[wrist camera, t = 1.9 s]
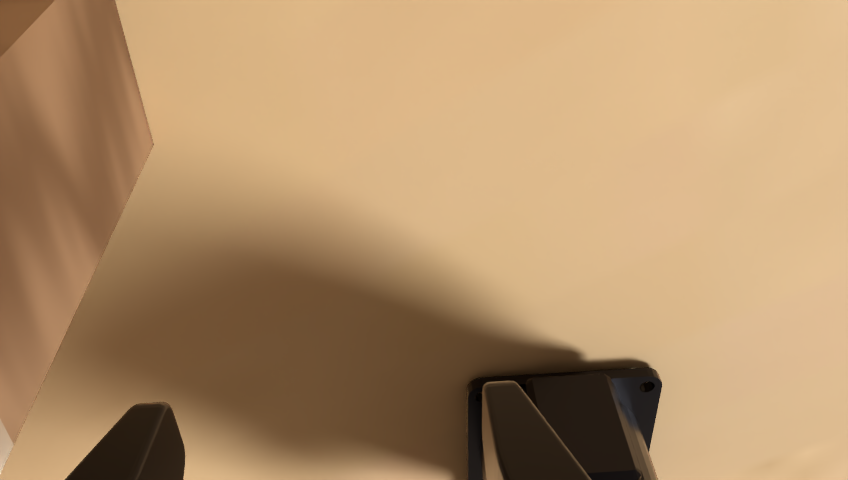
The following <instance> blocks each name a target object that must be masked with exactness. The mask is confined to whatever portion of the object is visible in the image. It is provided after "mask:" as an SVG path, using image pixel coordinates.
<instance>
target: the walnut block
mask: <svg viewBox="0 0 848 480" xmlns="http://www.w3.org/2000/svg"><path fill="white" fill-rule="evenodd" d="M153 145H154V144H153V140H152V137H151V133H150V129H149V126H148V122H147V118H146V114H145V111H144V107H143V103H142V100H141V96H140V92H139V88H138V85H137V81H136V77H135V73H134V70H133V66H132V62H131V59H130V55H129V51H128V47H127V44H126V40H125V36H124V33H123V29H122V25H121V21H120V18H119V14H118V10H117V7H116V3H115V0H0V474H1V471H2V469H3V467H4V465H5V463H6V461H7V458H8V456H9V454H10V452H11V450H12V448H13V446H14V443H15V441H16V439H17V437H18V435H19V433H20V431H21V428H22V426H23V424H24V422H25V420H26V418H27V416H28V413H29V411H30V409H31V407H32V405H33V403H34V401H35V398H36V396H37V394H38V392H39V390H40V388H41V385H42V383H43V381H44V379H45V377H46V375H47V373H48V370H49V368H50V366H51V364H52V362H53V360H54V358H55V355H56V353H57V351H58V349H59V347H60V345H61V343H62V340H63V338H64V336H65V334H66V332H67V330H68V328H69V325H70V323H71V321H72V319H73V317H74V315H75V312H76V310H77V308H78V306H79V304H80V302H81V300H82V297H83V295H84V293H85V291H86V289H87V287H88V285H89V282H90V280H91V278H92V276H93V274H94V272H95V270H96V267H97V265H98V263H99V261H100V259H101V257H102V255H103V252H104V250H105V248H106V246H107V244H108V242H109V239H110V237H111V235H112V233H113V231H114V229H115V227H116V224H117V222H118V220H119V218H120V216H121V214H122V212H123V209H124V207H125V205H126V203H127V201H128V199H129V197H130V194H131V192H132V190H133V188H134V186H135V184H136V181H137V179H138V177H139V175H140V173H141V171H142V169H143V166H144V164H145V162H146V160H147V158H148V156H149V154H150V151H151V149H152V147H153Z"/></svg>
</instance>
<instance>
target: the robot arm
mask: <svg viewBox="0 0 848 480" xmlns="http://www.w3.org/2000/svg"><path fill="white" fill-rule="evenodd" d="M644 382H647V383H644ZM643 383H644V384H643ZM661 388H662V382H661V379H660V377H659V374H658V373H657V371H656V370H654V369H652V368H633V369H616V370H600V371H584V372H567V373H551V374H535V375H518V376H502V377H485V378H478V379H475V380H473V381H471V382H470V383H469V384H468V386H467V480H658V478H657V475H656V472H655V469H654V467H653V464H652V461H651V458H650V455H649V448H650V443H651V438H652V433H653V428H654V423H655V418H656V413H657V408H658V403H659V398H660V393H661ZM479 392H482V394H481V393H479ZM184 467H185V449H184V444H183V441H182V438H181V435H180V432H179V429H178V426H177V423H176V419H175V416H174V413H173V410H172V408H171V407H170V405H169V404H168V403H164V402H156V403H140V404H136V405H134V406H133V407H131V408H130V409H129V410H128V411H127V412H126V413H125V414H124V415H123V417H122V418H121V419H120V420H119V421H118V422H117V423H116V424H115V425H114V426H113V428H112V429H111V430H110V431H109V432H108V433H107V434H106V435H105V436H104V437H103V438H102V440H101V441H100V442H99V443H98V444H97V445H96V446H95V447H94V448H93V449H92V450H91V452H90V453H89V454H88V455H87V456H86V457H85V458H84V459H83V460H82V461H81V462H80V464H79V465H78V466H77V467H76V468H75V469H74V470H73V471H72V472H71V473H70V475H69V476H68V477H67V478H66V479H65V480H183V476H184Z"/></svg>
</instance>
